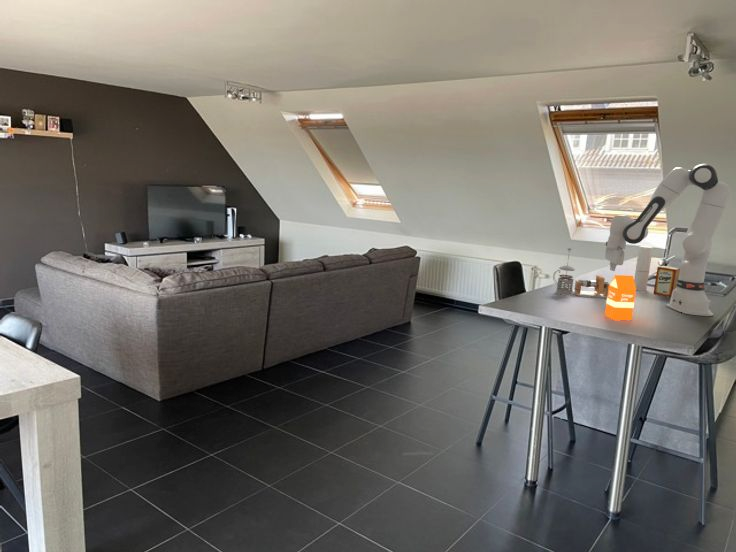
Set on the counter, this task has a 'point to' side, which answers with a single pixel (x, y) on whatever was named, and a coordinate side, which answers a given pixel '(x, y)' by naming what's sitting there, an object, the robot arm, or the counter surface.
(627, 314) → the orange juice
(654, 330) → the counter surface
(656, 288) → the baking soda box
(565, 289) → the french press
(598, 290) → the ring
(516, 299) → the counter surface
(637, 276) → the cylindrical container
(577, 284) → the pipe rig
